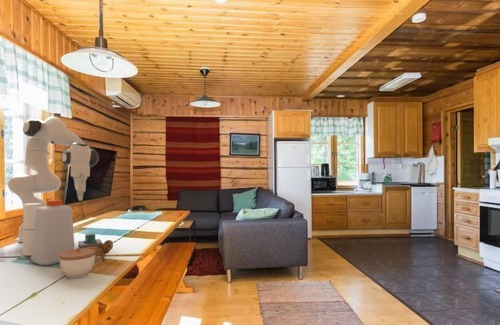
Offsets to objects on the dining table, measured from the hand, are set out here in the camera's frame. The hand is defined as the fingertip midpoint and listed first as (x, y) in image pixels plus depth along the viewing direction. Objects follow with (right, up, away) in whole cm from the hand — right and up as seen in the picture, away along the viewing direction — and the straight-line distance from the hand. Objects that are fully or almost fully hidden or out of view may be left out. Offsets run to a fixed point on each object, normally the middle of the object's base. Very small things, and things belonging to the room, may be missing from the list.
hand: (79, 199), depth 161 cm
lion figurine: (+19, -27, -20) cm, 38 cm away
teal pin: (+8, -26, -6) cm, 27 cm away
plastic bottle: (-1, -27, -20) cm, 33 cm away
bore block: (+8, -27, -6) cm, 28 cm away
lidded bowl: (+21, -26, -39) cm, 52 cm away
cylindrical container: (-19, -27, -9) cm, 34 cm away
